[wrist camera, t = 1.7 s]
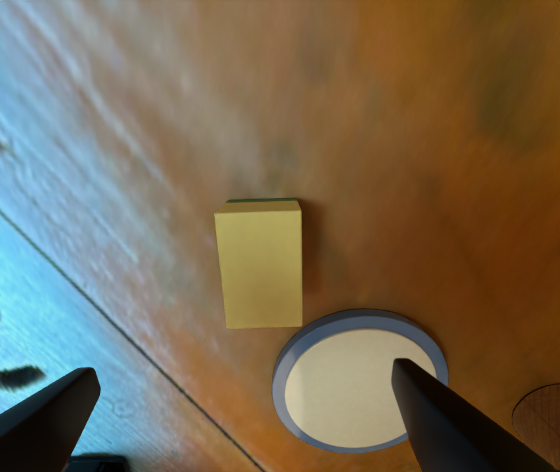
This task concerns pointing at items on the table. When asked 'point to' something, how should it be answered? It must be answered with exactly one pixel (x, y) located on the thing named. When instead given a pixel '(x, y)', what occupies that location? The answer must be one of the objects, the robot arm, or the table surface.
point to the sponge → (261, 262)
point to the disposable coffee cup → (541, 423)
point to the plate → (349, 379)
